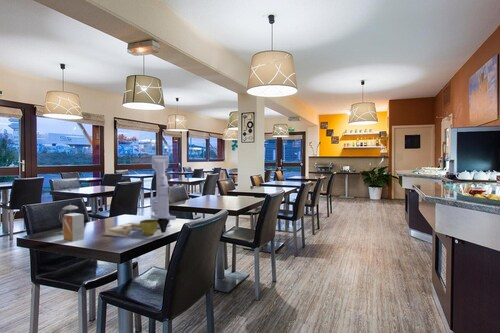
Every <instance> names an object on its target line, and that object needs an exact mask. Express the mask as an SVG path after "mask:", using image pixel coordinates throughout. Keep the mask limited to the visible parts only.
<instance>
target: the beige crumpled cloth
mask: <svg viewBox="0 0 500 333" xmlns="http://www.w3.org/2000/svg"><path fill="white" fill-rule="evenodd" d="M132 230H138V231H142V229H141V226H140V222H128V223H124V224H121V225H118V226H114V227H110V228H106V229H105V235H106V236H111V237H112V236H114V237H125V238H127V237H131V236H132Z"/></svg>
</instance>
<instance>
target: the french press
mask: <svg viewBox="0 0 500 333" xmlns="http://www.w3.org/2000/svg"><path fill="white" fill-rule="evenodd" d="M67 191H69V192H71V191H73V189H72V188H68V189H67ZM78 209H79V207H78V206H77V205H71V204H68V205H66V206H64V207H63V208H61V211H60V212H59V215H58V217H59V221H60V222H61V223H62V231H61V232H60V233H61V234H62V235H64V224H63V218H61V216H60V215H61V214H64V213H66V212H67V211H68V210H69V214H71V213H72V212H71V211H73V210H78Z"/></svg>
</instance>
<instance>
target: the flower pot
mask: <svg viewBox="0 0 500 333" xmlns="http://www.w3.org/2000/svg"><path fill="white" fill-rule="evenodd" d="M139 223H140V226H141V229H142V230H141V231H142V233H144V235H147V236H149V235H154V234H155V233H156V232H157V229H158V228H157V227H158V223H157V220H156V219H151V218H150V219H143V220H140V221H139Z"/></svg>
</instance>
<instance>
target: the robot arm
mask: <svg viewBox="0 0 500 333" xmlns="http://www.w3.org/2000/svg"><path fill="white" fill-rule="evenodd" d="M169 165H170V157H169V155H152V156H151V167H152V169H153V170H154V171H155V173H156V176H155V177H156V195H155V197H154V198H152V200H151V211H152V213H153V214H152V215H151V214H150V219H156V220H157V223H158V227H157V229H160V232H161V234H165V233H166V231H167V228H168V227H169V226H172V225H171V224H170V221H176V220H177V219H176V218H177V216H176V215H170V213H169V211H170V210H169V208H170V206H169V205H170V204H169V196H170V186H169V183H168V177H167V175H166V170H167V169H168V168H169Z"/></svg>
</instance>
